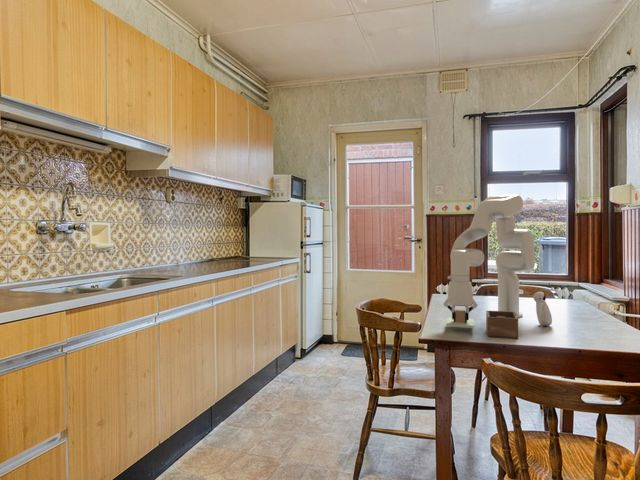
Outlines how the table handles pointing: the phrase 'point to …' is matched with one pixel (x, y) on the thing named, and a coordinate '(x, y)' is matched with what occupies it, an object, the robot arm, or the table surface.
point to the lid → (460, 320)
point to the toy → (542, 309)
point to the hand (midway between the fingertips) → (460, 321)
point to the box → (502, 324)
